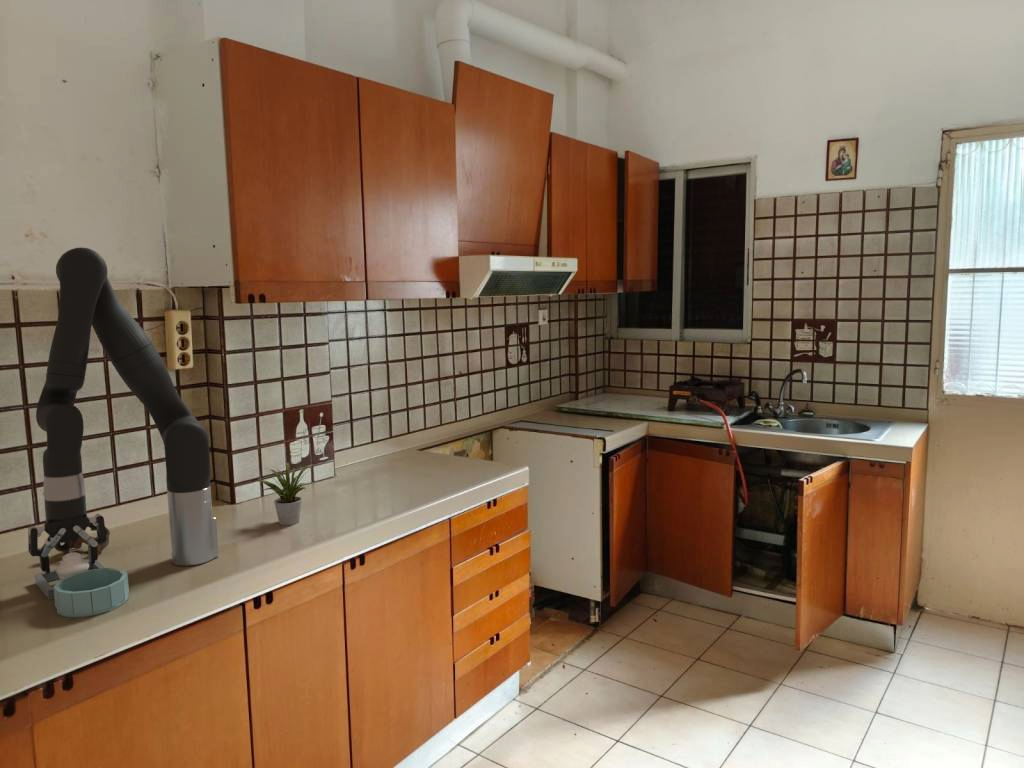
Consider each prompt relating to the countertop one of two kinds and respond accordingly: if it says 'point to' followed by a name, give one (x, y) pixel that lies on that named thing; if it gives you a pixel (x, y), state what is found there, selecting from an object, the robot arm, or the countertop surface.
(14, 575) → the countertop surface
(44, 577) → the square frame
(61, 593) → the bowl
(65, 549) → the brown looped piece
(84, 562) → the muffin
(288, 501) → the house plant
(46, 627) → the countertop surface
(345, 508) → the countertop surface
